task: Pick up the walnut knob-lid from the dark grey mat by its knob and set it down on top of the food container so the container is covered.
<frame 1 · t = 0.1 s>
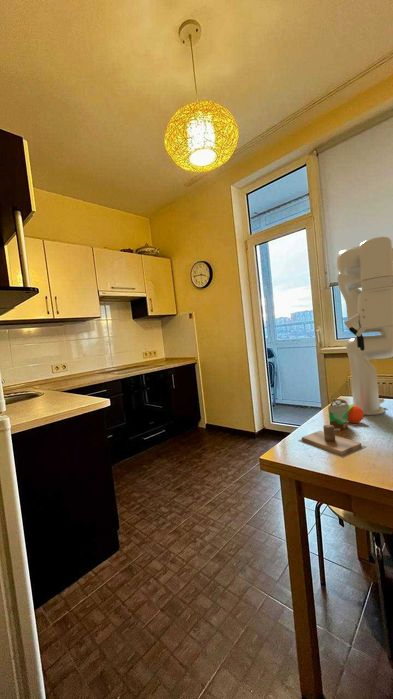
hand: (382, 348, 79), 31 cm above the table, tool pointing down, fingers open, 9 cm apart
lid: (330, 443, 93), point 1 cm above the table, touching mat
food container: (341, 429, 106), on the table
mat: (330, 446, 93), on the table
clementine: (353, 423, 110), on the table
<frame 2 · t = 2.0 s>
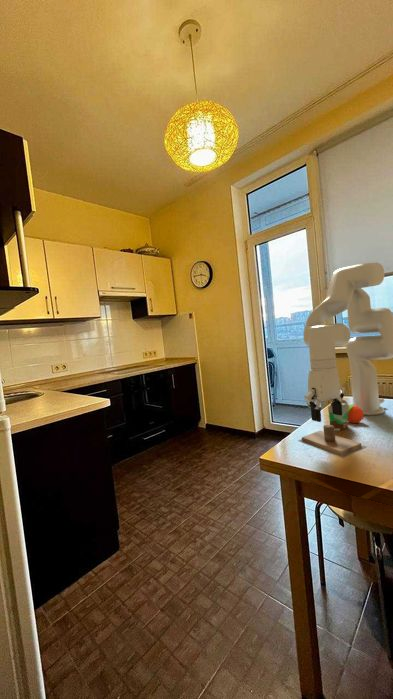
hand: (327, 417, 92), 10 cm above the table, tool pointing down, fingers open, 9 cm apart
nothing on the table moved.
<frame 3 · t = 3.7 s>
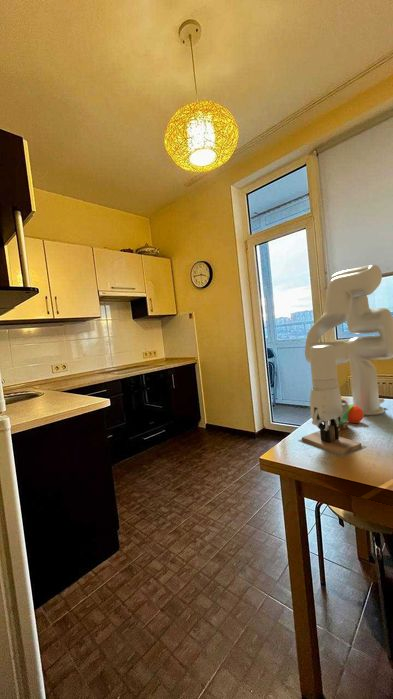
hand: (329, 439, 93), 2 cm above the table, tool pointing down, fingers closed on lid, 3 cm apart
lid: (330, 443, 93), point 1 cm above the table, touching gripper, mat
everything else where it was.
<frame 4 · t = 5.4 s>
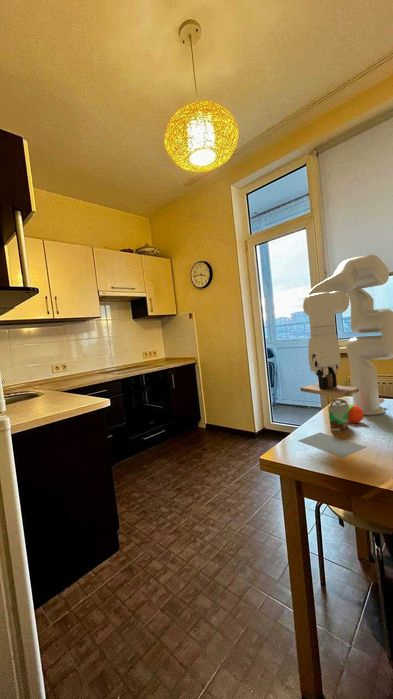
hand: (328, 387, 94), 19 cm above the table, tool pointing down, fingers closed on lid, 3 cm apart
lid: (328, 391, 94), point 17 cm above the table, touching gripper
everything else where it was.
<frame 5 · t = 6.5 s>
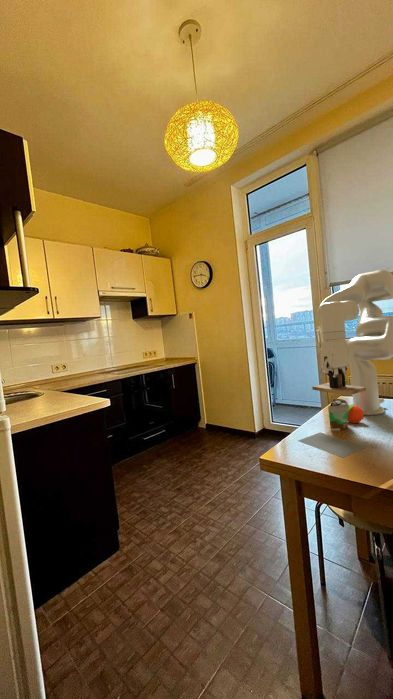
hand: (337, 386, 105), 16 cm above the table, tool pointing down, fingers closed on lid, 3 cm apart
lid: (337, 390, 105), point 15 cm above the table, touching gripper
everything else where it was.
when the fingers open (13 cm above the table, at t = 7.4 s): lid drops 2 cm, resting on food container.
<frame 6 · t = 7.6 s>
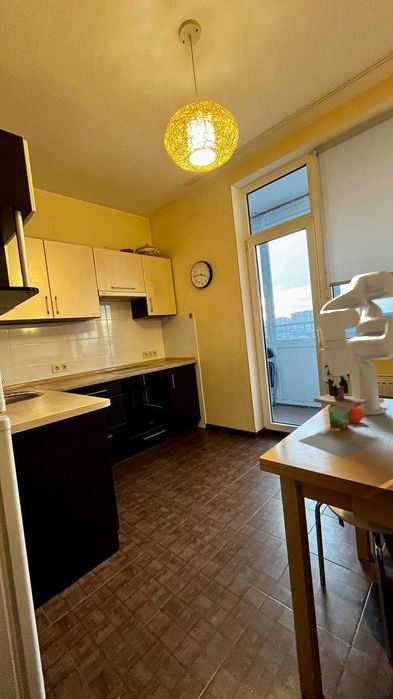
hand: (338, 393, 105), 13 cm above the table, tool pointing down, fingers open, 5 cm apart
lid: (339, 402, 105), point 10 cm above the table, touching food container
food container: (341, 429, 106), on the table, touching lid
everything else where it was.
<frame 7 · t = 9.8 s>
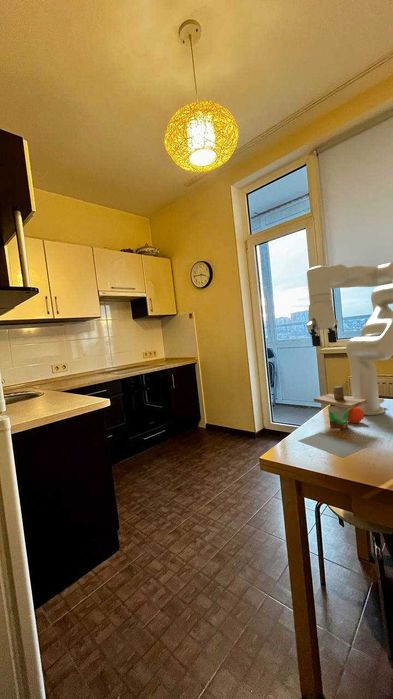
hand: (324, 344, 111), 31 cm above the table, tool pointing down, fingers open, 9 cm apart
nothing on the table moved.
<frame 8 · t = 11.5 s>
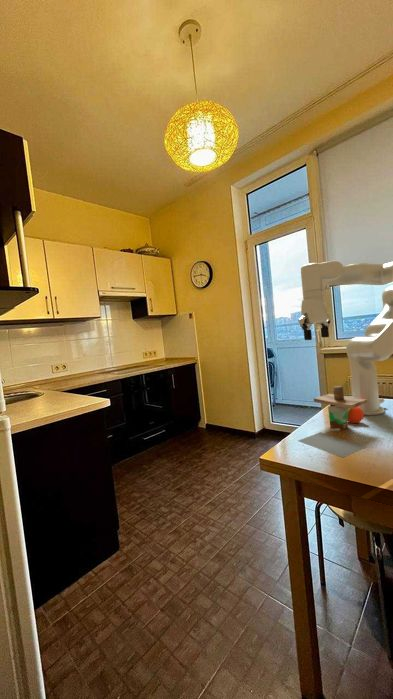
hand: (316, 338, 116), 33 cm above the table, tool pointing down, fingers open, 9 cm apart
nothing on the table moved.
at the end: lid inside the target area in the food container (0.1 cm from its centre), point 10.2 cm above the food container's base; lid tilted 0°; food container tilted 0° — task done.
